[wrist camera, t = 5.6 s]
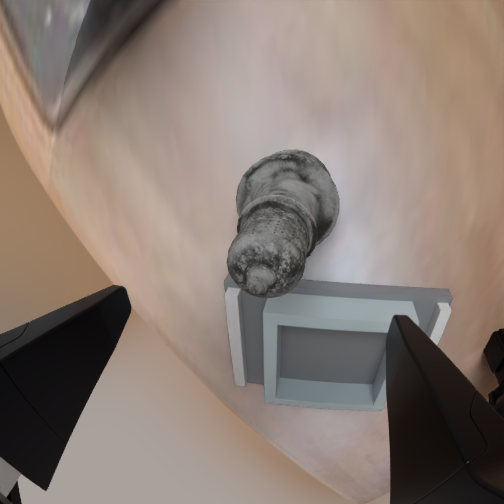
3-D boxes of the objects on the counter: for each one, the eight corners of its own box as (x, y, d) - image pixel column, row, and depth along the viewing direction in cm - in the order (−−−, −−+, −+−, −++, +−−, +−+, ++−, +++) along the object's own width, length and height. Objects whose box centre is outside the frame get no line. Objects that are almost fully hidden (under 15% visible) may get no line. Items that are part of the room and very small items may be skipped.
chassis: (448, 289, 20) (462, 317, 17) (408, 384, 26) (413, 412, 23) (228, 273, 24) (213, 300, 21) (238, 371, 30) (228, 399, 26)
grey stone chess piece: (251, 141, 19) (161, 194, 9) (342, 151, 18) (367, 218, 8) (248, 223, 22) (178, 339, 11) (330, 234, 21) (328, 367, 10)
